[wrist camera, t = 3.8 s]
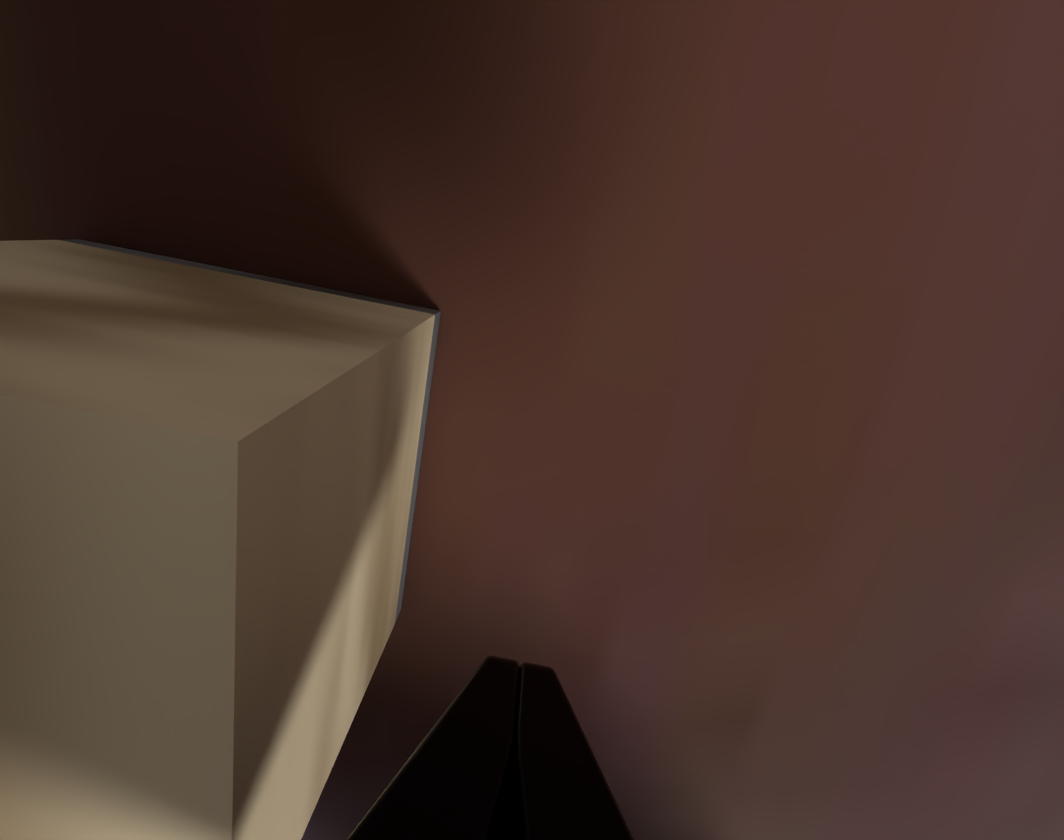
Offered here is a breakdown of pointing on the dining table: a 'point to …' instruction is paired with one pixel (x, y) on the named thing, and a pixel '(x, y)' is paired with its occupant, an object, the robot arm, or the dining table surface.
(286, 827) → the letter cube
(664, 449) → the dining table surface
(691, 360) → the dining table surface
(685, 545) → the dining table surface
